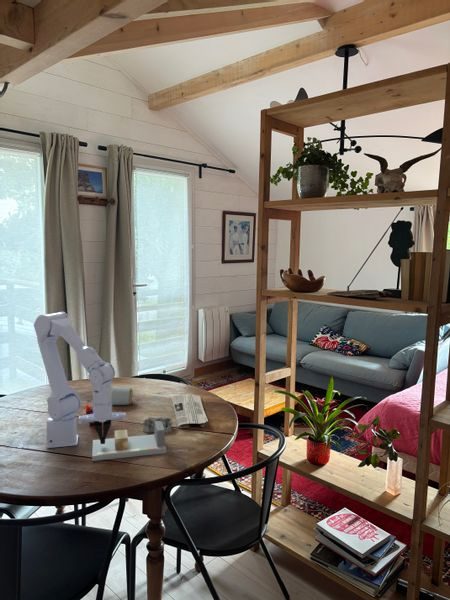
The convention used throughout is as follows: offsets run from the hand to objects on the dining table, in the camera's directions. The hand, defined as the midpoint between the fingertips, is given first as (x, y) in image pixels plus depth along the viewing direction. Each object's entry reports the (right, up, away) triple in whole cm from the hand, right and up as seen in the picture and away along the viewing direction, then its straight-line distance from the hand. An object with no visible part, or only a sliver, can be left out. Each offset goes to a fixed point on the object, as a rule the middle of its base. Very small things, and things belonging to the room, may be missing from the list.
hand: (102, 442), depth 142 cm
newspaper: (+25, 0, +37) cm, 45 cm away
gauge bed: (+8, -3, +3) cm, 9 cm away
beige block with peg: (+6, -1, +1) cm, 6 cm away
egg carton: (+15, -2, +19) cm, 24 cm away
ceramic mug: (-5, +2, +46) cm, 46 cm away
